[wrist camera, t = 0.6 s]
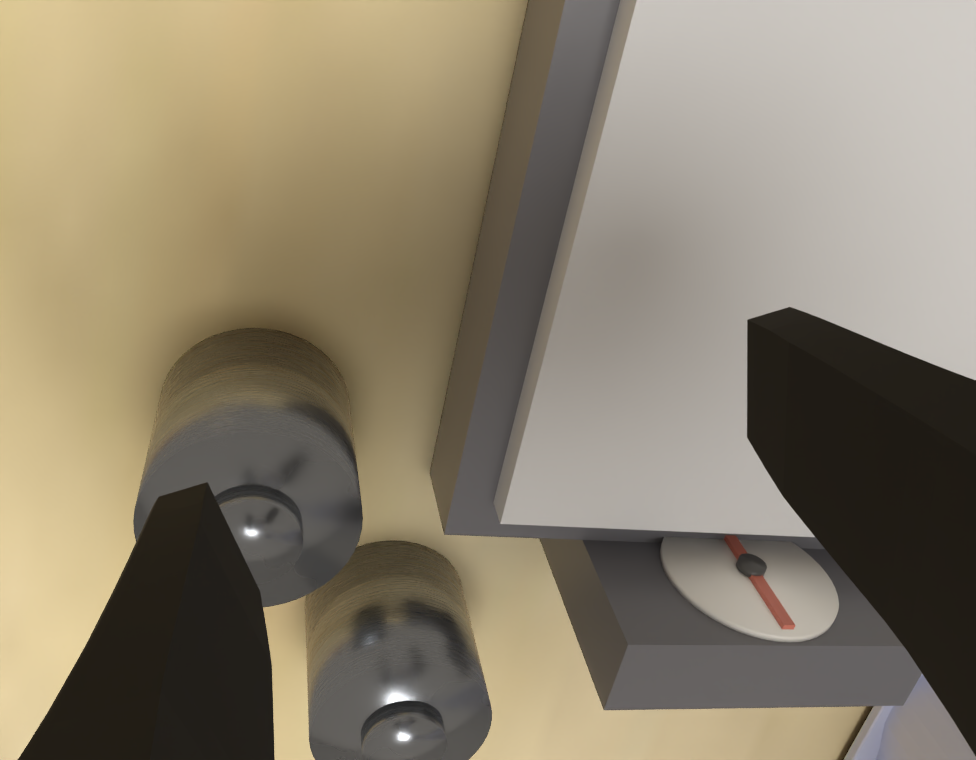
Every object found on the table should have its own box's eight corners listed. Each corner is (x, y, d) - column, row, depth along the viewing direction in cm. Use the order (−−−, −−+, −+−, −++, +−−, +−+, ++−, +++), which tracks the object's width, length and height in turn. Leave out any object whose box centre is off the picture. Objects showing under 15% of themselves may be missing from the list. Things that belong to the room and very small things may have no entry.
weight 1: (337, 489, 23) (349, 630, 19) (156, 479, 22) (126, 628, 18) (360, 337, 21) (379, 457, 17) (163, 318, 20) (131, 442, 16)
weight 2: (446, 658, 27) (477, 807, 23) (297, 658, 26) (300, 815, 22) (475, 543, 25) (514, 683, 21) (314, 537, 24) (321, 684, 20)
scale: (885, 552, 28) (1017, 703, 23) (416, 533, 24) (452, 712, 19) (1184, -29, 21) (1478, 9, 16) (569, -194, 17) (694, -214, 12)
